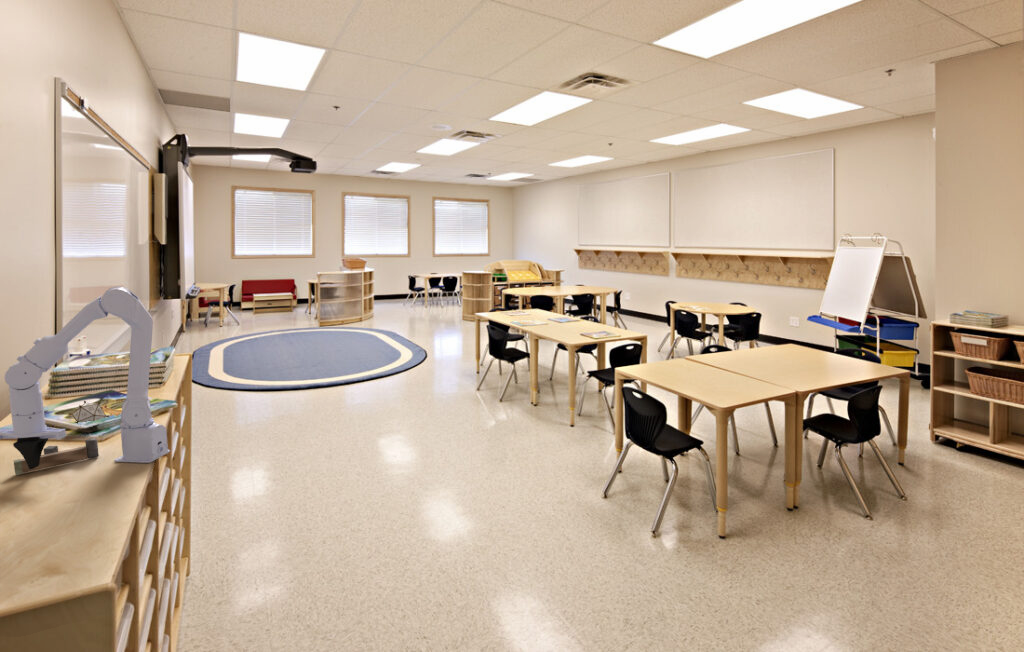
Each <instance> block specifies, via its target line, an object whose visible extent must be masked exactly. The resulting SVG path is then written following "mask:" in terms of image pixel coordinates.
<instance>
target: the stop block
mask: <svg viewBox="0 0 1024 652" xmlns="http://www.w3.org/2000/svg"><path fill="white" fill-rule="evenodd" d="M54 452H59V448H58V445H49V446H47V447H45V448H43V455H45V454H50V453H54Z"/></svg>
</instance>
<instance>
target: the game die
mask: <svg viewBox="0 0 1024 652" xmlns="http://www.w3.org/2000/svg"><path fill="white" fill-rule="evenodd" d="M101 403H102V402H101V401H98V402H97V403H94V402H87V401H86V400H83V404H82V405H81V404H79V405H78V408H77V409H76V410H75V411H74V412H70V413H68V415H69V416H72V417H73V418H74V420H75V422H74V424H75V423H77V424H78V422H87V421H95V420H99V419H102V418H104V419H105V418H110V416H109V415H106V413H105V412H104V410H103V406H101ZM76 421H77V422H76Z"/></svg>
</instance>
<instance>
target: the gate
mask: <svg viewBox="0 0 1024 652" xmlns="http://www.w3.org/2000/svg"><path fill="white" fill-rule="evenodd" d="M84 442H85V445H84V446H81V447H75V448H71V449H66V450H61V451H59V450H58V452H54V453H50V454H45V455H44V454H41V457H40V462H39V466H37V467H35V468H33V469H29V467H28V465H27V463H26V461H25V459H24V458H17V459H14V460H13V469H14V474H15V475H16V476H21V475H23V474H26V473H31V472H35V471H39V470H45V469H50V468H53V467H57V466H58V467H59V466H62V465H67V464H71V463H75V462H77V463H78V462H80V461H81V462H82V461H86V460H88V459H89V460H92V459H97V458H98V457H99V444H98V438H95V437H92V438H87V439H85V441H84Z"/></svg>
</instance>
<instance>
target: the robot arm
mask: <svg viewBox="0 0 1024 652" xmlns="http://www.w3.org/2000/svg"><path fill="white" fill-rule="evenodd" d="M109 314H110V315H112V316H114V317H116V318H119V319H121V320H122V321H123V322H125V323H126V324H127V325H128V326H130V327H131V332H130V346H129V358H128V360H129V361H128V374H127V388H126V398H125V399H124V401H122V404H121V413H120V419H121V422H120V425H119V426H120V436H121V449H122V455H121V456H119V457H117V458H115V459H113V460H114V462H115V463H138V464H139V463H141V464H149V463H152V462H154V461H156V460H158V459H159V458H161V457H163V456H164V455H165V456H166V454H168V453H170V452H171V450H170V449H169V446H168V435H167V433H168V432H167V429H166V427H165V425H163V424H159V423H157V422H156V421H155V419H154V417H152V410H151V409H152V403H151V400H150V399H149V384H150V383H149V382H150V370H151V367H150V366H151V358H152V357H151V355H152V343H153V342H152V340H153V330H154V329H153V328H154V326H153V325H154V320H153V317H152V315H151V314H150V312H149V311H148V309H147V308H146V307H145V306H144V304H143V303H142V301H141V300H140V298H139V296H137V295H136V294H135V293H133V292H132V291H130V290H129V289H128V288H126V287H123V286H113V287H111V288H108V289H107V290H106V291H105V292H104V294H101V295H99V296H98V297H95V298H94V299H93V300H92V301H90V302H89V303H87V304H85V306H84V307H83V308H82V309H81V310H80V311H78V313H76V315H75V316H73V317H72V318H71V319H70V320H69V322H67V323H66V324H65V325H64V326H63V327H62V328H61V329H60V330H59V331H58V332H57V333H55V334H53V335H44V336H43V337H42V338H40V337H38V338H36V340H35V341H33V344H34V345H33V346H32V347H31V348H30V349H28V350H27V351H26V353H25V354H23V355H19V356H18V357H16V361H17V362H15V363H13V364H12V365H11V366H9V367H8V368H7V370H6V372H5V375H4V382H5V383H6V384H7V385H8V392H9V396H8V397H9V398H8V399H9V406H10V407H9V408H10V415H11V416H10V417H11V422H12V423H11V424H12V428H2V429H1V428H0V440H2V439H3V440H4V439H5V440H6V439H7V440H9V439H13V440H14V439H16V441H15V442H13V443H12V445H13V447H14V448H15V449H16V450H17V451H18V452H19V453H20V454H21V456H22V458H23V459H25V461H26V463H27V465H28V467H29V469H33V468H35V467H37V466H39V462H40V457H41V455H42V453H43V451H44V447H45V445H46V443H48V441H49V439H55V440H62V439H63V438H66V437H67V434H66V428H58V427H56V428H55V427H50V426H48V425H47V424H46V420H45V419H46V418H45V411H44V410H45V409H44V399H43V390H42V389H41V381H40V379H41V377H42V375H43V373H46V372H48V371H49V370H50V369H52V367H53V366H54V365H56V364H57V363H58V362H59V361H60V360H61V359H62V358H63V357H64V356H65V355H66V354H68V352H69V346H68V345H69V343H70V342H71V341H72V340H73V339H74V338H76V337H77V336H78V335H79V334H80V333H81V332H82V331H84V330H85V328H87V327H88V326H89V325H90V324H91V323H93V321H95V320H96V321H97V320H99V319H104V318H107V317H108V316H109Z"/></svg>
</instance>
